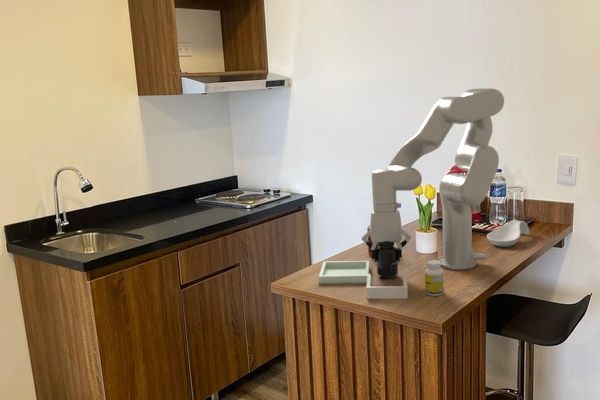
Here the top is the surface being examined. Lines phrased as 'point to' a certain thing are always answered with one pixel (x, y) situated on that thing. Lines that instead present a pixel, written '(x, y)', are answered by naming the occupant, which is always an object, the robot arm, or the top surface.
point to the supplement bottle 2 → (434, 278)
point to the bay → (387, 290)
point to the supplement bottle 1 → (387, 259)
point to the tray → (344, 272)
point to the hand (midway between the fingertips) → (387, 259)
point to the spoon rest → (508, 233)
